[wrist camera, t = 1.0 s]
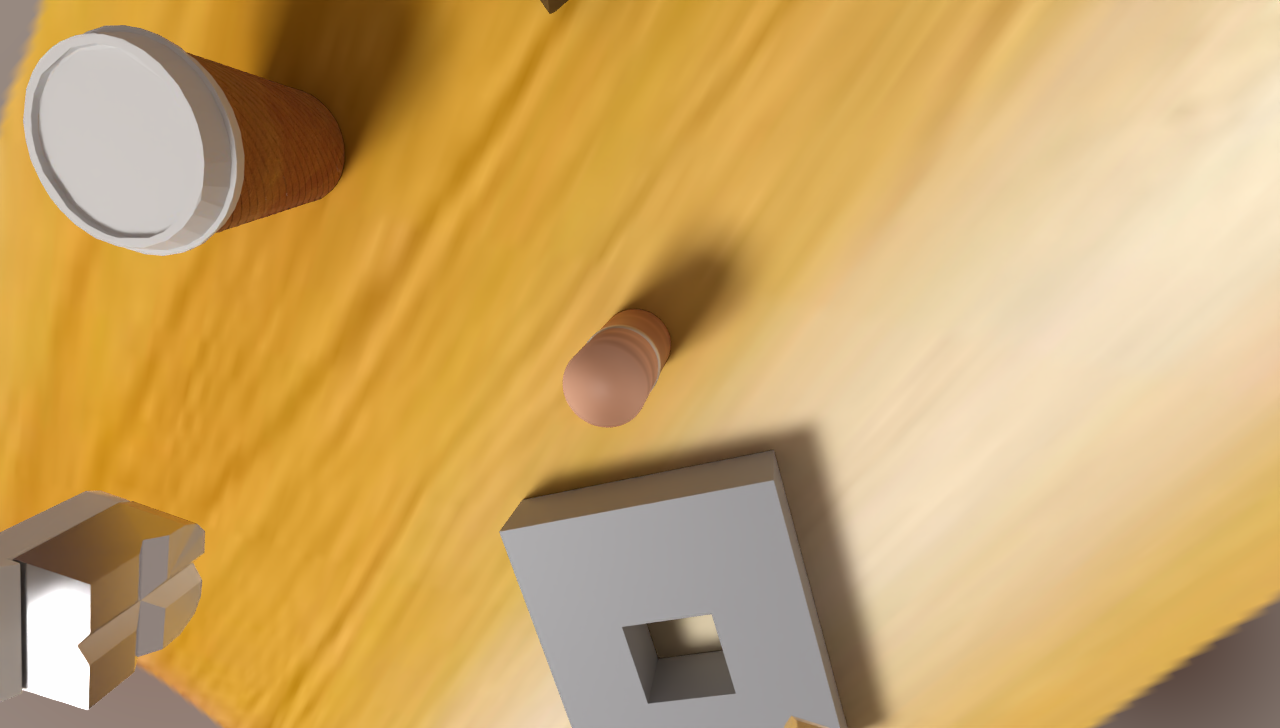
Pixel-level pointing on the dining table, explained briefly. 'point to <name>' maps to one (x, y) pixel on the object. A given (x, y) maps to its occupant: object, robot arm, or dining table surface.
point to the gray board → (675, 599)
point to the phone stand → (553, 4)
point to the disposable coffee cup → (170, 141)
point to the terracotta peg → (617, 368)
